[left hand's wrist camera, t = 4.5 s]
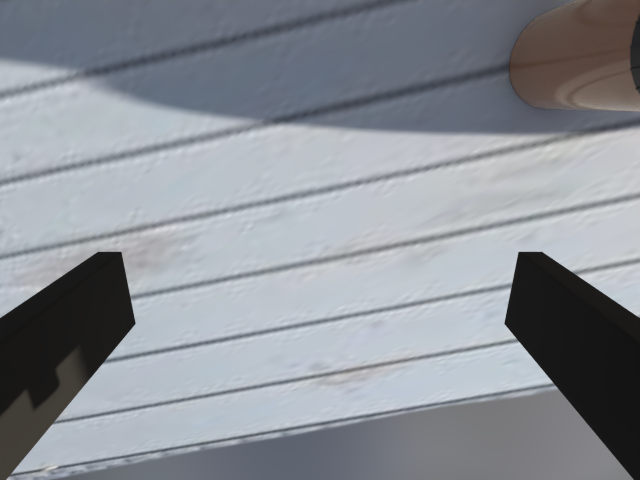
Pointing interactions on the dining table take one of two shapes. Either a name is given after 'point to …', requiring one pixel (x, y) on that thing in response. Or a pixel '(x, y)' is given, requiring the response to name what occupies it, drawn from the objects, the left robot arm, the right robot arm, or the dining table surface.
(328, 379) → the dining table surface
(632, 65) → the lid
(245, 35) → the dining table surface
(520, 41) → the jar
